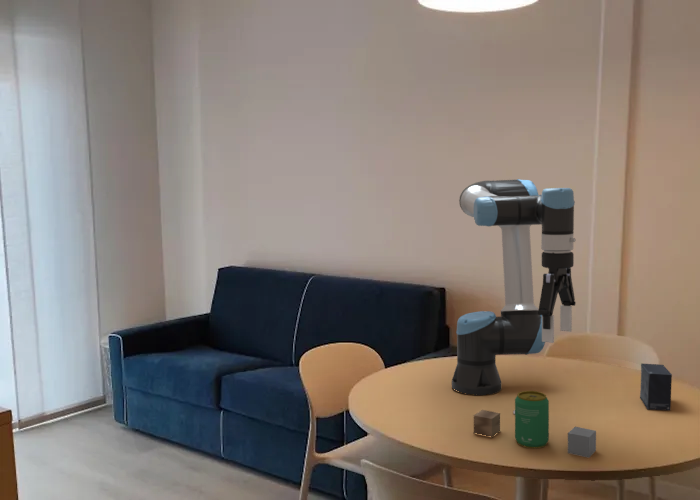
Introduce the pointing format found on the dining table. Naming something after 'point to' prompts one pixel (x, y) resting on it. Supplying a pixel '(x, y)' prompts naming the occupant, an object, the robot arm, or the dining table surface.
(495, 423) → the walnut block
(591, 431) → the slate block
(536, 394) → the beverage can
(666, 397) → the small box
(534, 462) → the dining table surface
